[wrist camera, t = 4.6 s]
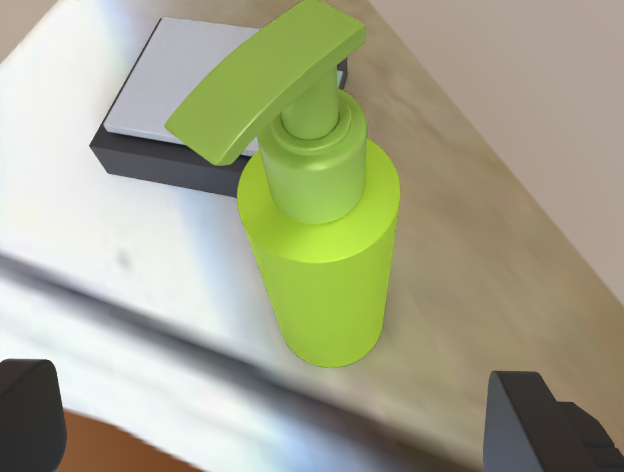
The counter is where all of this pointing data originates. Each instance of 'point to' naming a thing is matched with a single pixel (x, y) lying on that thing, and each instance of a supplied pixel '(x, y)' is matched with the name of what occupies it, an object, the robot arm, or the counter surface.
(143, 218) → the counter surface
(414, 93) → the counter surface
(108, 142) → the kitchen scale
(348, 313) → the soap dispenser
